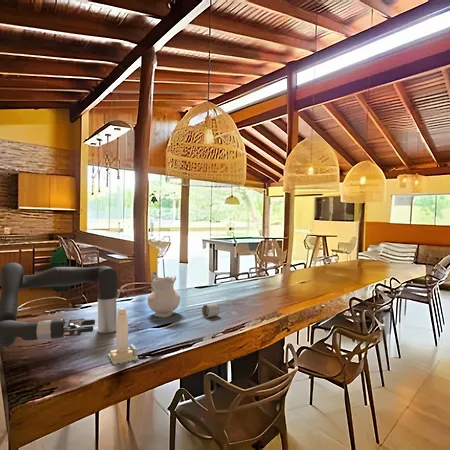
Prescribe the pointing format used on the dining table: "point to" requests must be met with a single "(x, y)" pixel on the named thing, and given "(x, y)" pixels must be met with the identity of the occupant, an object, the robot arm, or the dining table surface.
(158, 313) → the ceramic pitcher
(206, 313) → the ceramic mug
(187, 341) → the dining table surface
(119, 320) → the white bottle
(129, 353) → the display stand
